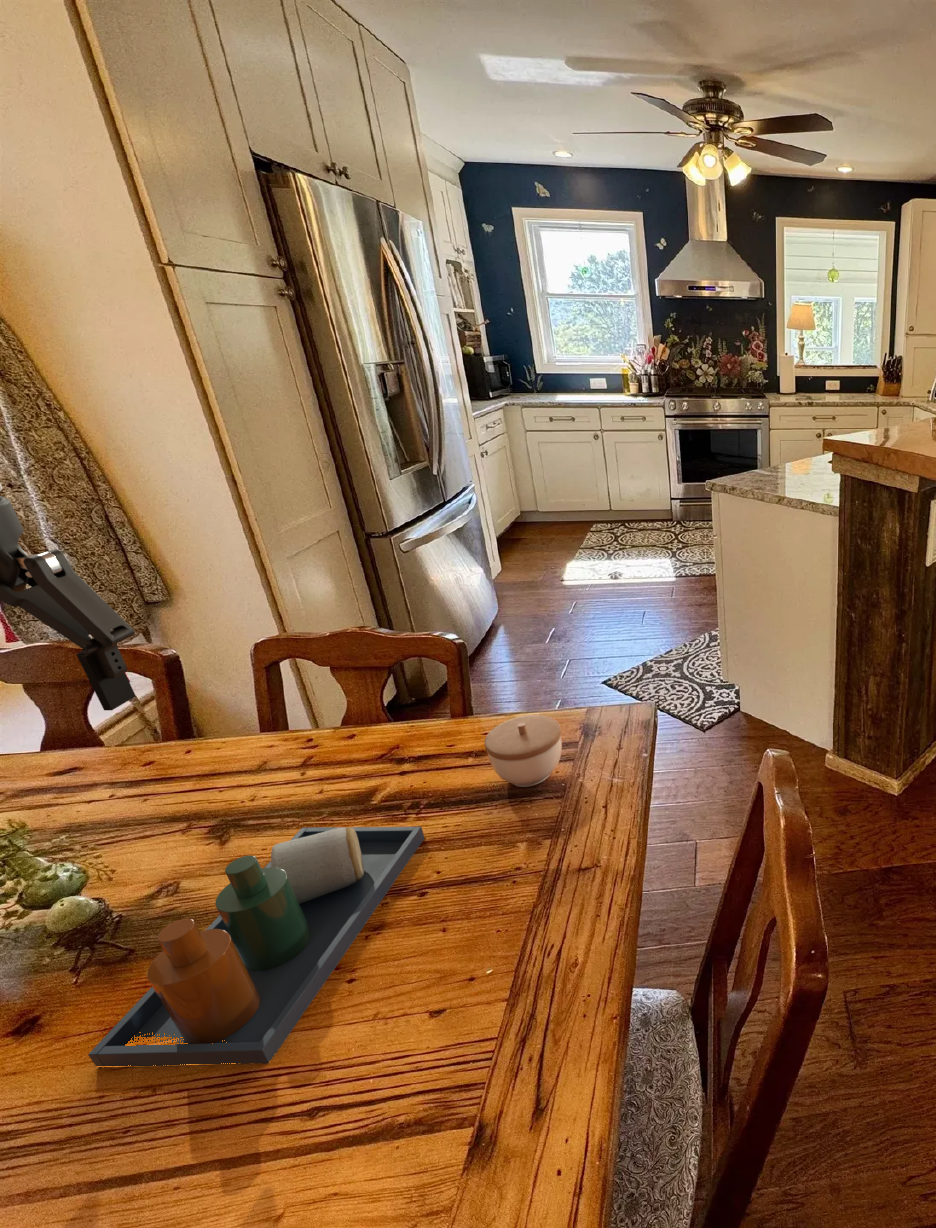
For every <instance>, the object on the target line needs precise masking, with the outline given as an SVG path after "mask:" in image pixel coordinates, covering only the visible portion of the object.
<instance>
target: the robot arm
mask: <svg viewBox="0 0 936 1228" xmlns="http://www.w3.org/2000/svg"><path fill="white" fill-rule="evenodd" d="M2 490H3V486H2V484H1V483H0V492H1V491H2ZM23 533H24V527H23V525H22V523H21V521H20V519H19V517H18V515H17V513H16V510H15V508H14V506H13V505H12V503H11V501H10V499H9V498H5V497H4V496H2V495H0V602H1V601H2V602H3V603H4V604H6V605H7V606H10V607H17V608H20V609H22V610H24V611H25V612H27V613H28V614H30V615H31V616H33V617H34V618H36V619H37V620H39V621H40V622H42V623H43V624H44V625H46V626H48V627H49V628H50V629H52V630H54V631H55V632H56V633H58V634H59V635H61V636H62V637H64V638H65V639H67V640H69V641H70V642H72V643H73V644H74V645H76V646H77V647H79V648H81V649H82V650H80V651H79V652H78V653H75V654H76V655H75V656H76V657H77V659H78V661H79V664H80V665H81V667H82V669H83V671H84V673H85V675H86V677H87V679H88V681H89V683H90V685H91V687H92V689H93V692H94V693H95V695H96V697H97V699H98V702H99V703H100V705H101V707H102V709H103V711H113V710H115V709H117V708H119V707H121V706H122V705H124V704H125V703H127V702H130V701H131V700H132V699H134V698H136V697H137V695H136V693H135V691H134V689H133V687H132V684H131V682H130V680H129V677H128V676H127V674H126V673H127V672H128V666H127V664H126V662H125V660H124V657H123V655H122V653H121V651H120V649H119V646H118V644H119V643H122V642H123V641H125V640H128V639H129V638H132V637H133V636H134V635H135V634H136V631H135V630H134V628H133V627H132V625H130V624H129V623H128V622H127V621H125V619H124V618H123V617H122V616H120V614H119V613H118V612H116V610H115V609H114V608H112V606H110V605H109V604H108V603H107V602H106V601H105V600H104V599H103V598H102V597H101V595H99V594H98V593H97V592H96V591H95V590H94V589H93V588H92V587H91V586H90V585H89V584H88V583H87V582H86V581H85V580H84V579H82V577H80V575H78V573H76V572H75V571H74V569H73V567H72V566H71V564H70V563H69V561H68V559H67V558H66V556H65V554H64V553H63V552H62V551H61V550H59V549H51V550H47V551H44V552H41V553H36V554H35V553H34V554H28V553H27V552H25V550H23V548H22V547H21V545H20V544H19V540H20V538H21V536H22V535H23ZM27 585H28V586H29V587H28V588H27ZM90 635H91V636H92V638H91V637H90Z"/></svg>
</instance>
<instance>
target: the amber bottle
mask: <svg viewBox="0 0 936 1228" xmlns="http://www.w3.org/2000/svg"><path fill="white" fill-rule="evenodd" d="M156 939H157V942H158V943H159V945H160V947H161V949H162V951H161V952H160V953H159V954H158V955H157V956H156V957H155V958H154V959H153V961H152V962H151V963H150V965H149V967H148V969H147V972H146V977H147V981H148V982H149V983H150V985H151V987H153V989H154V990H155V992H156V994H157V995H158V997H159V999H160V1000H161V1002H162V1004H163V1005H164V1007H165V1009H166V1010H167V1012H168V1014H169V1015H170V1017H171V1019H172V1020H173V1022H174V1024H175V1026H176V1027H177V1029H178V1031H179V1032H180V1034H181V1036H182V1037H183V1039H184V1040H185V1042H186V1043H188V1044H212V1043H215V1042H218V1041H220V1040H222V1039H224V1038H226V1037H228V1036H230V1035H232V1034H233V1033H235V1032H236V1031H238V1030H239V1029H240V1028H241V1027H243V1026H244V1025H245V1024H246V1023H247V1022H248V1021H249V1020H250V1019H251V1018H252V1016H253V1015H254V1014H255V1012H256V1011H257V1009H258V1007H259V1004H260V995H259V993H258V991H257V989H256V987H255V985H254V983H253V981H252V979H251V977H250V975H249V973H248V971H247V969H246V967H245V965H244V963H243V961H242V959H241V957H240V955H239V953H238V951H237V949H236V947H235V945H234V943H233V941H232V939H231V937H230V935H229V933H228V932H226V931H224V930H221V929H209V930H206V929H205V930H199V927H198V925H197V924H196V921H195V920H194V919H192V918H182V919H178V920H175V921H173V922H171V923H169V924H167V925H166V926H165V927H163V928H162V929H161V930H160V931H159V932H158V934H157V937H156Z"/></svg>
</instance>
